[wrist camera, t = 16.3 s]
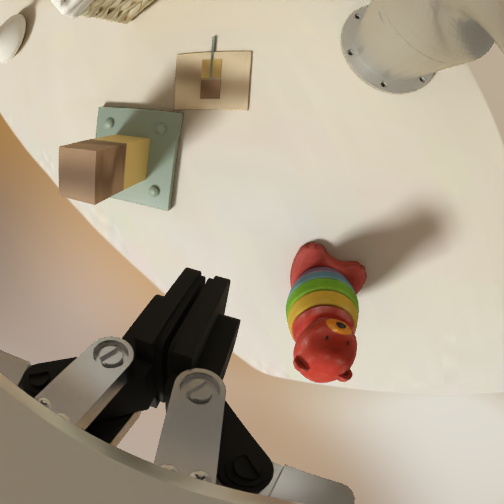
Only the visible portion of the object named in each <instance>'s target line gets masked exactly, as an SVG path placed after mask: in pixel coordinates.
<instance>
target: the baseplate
mask: <svg viewBox="0 0 504 504" xmlns="http://www.w3.org/2000/svg"><path fill="white" fill-rule="evenodd" d="M182 119H183V113H177V112H168V111H159V110H148V109H135V108H119V107H99V110H98V119H97V129H96V138H100V137H105V136H110V135H115V134H118V135H126V136H135V137H143V138H150V145H149V154H148V163H147V174H146V180H144V181H142V182H140V183H137V184H135V185H133V186H131V187H129V188H127V189H125V190H123V191H121V192H119V193H117V194H115V195H113V196H111V197H110V198H115V199H119V200H123V201H127V202H132V203H136V204H140V205H144V206H148V207H153V208H157V209H161V210H165V211H169V210H170V209H171V202H172V192H173V183H174V175H175V167H176V159H177V152H178V145H179V138H180V132H181V125H182Z"/></svg>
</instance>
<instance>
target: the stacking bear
mask: <svg viewBox="0 0 504 504" xmlns="http://www.w3.org/2000/svg"><path fill="white" fill-rule="evenodd" d="M366 277H367V275H366V272H365V268H364V266H362V265H360V264H359V263H358V262H342V261H338V260H336V259H334V258H333V257H331V256H330V255H329V254H328V252H327V251H326V249H325V248H324V247H323V246H322V245H320V244H316V243H315V242H312V243H309V244H305V245H303V246H302V247H301V248H300V249H299V251H298V252H297V254H296V256H295V258H294V261H293V264H292V268H291V275H290V282H291V291H290V294H289V297H288V300H287V305H286V315H287V322H288V325H289V330H290V333H291V336H292V338H293V339H294V341H295V342H296V344H295V347H294V361H293V364H294V367H295V369H296V370H298V371H299V372H300V373H301V374H302V375H303V376H304V377H306V378H307V379H309V380H311V381H314V382H318V383H326V382H331V381H334V380H339V381H341V382H345V381H348V380H349V379H351V377H352V372H351V370H350V367H351V366H352V364H353V362H354V360H355V357H356V351H357V341H356V337H355V335H354V334H355V331H356V327H357V321H358V313H359V306H358V300H357V296H356V294H357V293H358V292H359V291H360V289H361V288H362V286H363V285H364V283H365V281H366Z"/></svg>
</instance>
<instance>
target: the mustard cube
mask: <svg viewBox="0 0 504 504" xmlns="http://www.w3.org/2000/svg"><path fill="white" fill-rule="evenodd" d="M92 140H102V141H110V142H119V143H126V144H127V147H126V159H125V172H124V189H123V190H125V189H127V188H129V187H131V186H133V185H135V184H137V183H140V182H142V181H144V180H146V174H147V163H148V154H149V145H150V138H143V137H135V136H126V135H118V134H115V135H110V136H105V137H100V138H95V139H92Z"/></svg>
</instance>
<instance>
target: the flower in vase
mask: <svg viewBox="0 0 504 504" xmlns="http://www.w3.org/2000/svg"><path fill="white" fill-rule="evenodd" d="M25 29H26V21H25V18H24V17H23V15H21V14H17V15H14V16H12V17H10V18H9V19H8V20H7V21H6V22H5V23H4V24H3V25H2V26H1V27H0V63H1V64H4V63H7V62H8V61H9V60H11V59H12V58H13V57H14V55H15V54H16V52H17V51H18V49H19V47H20V45H21V43H22V40H23V37H24V34H25Z"/></svg>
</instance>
